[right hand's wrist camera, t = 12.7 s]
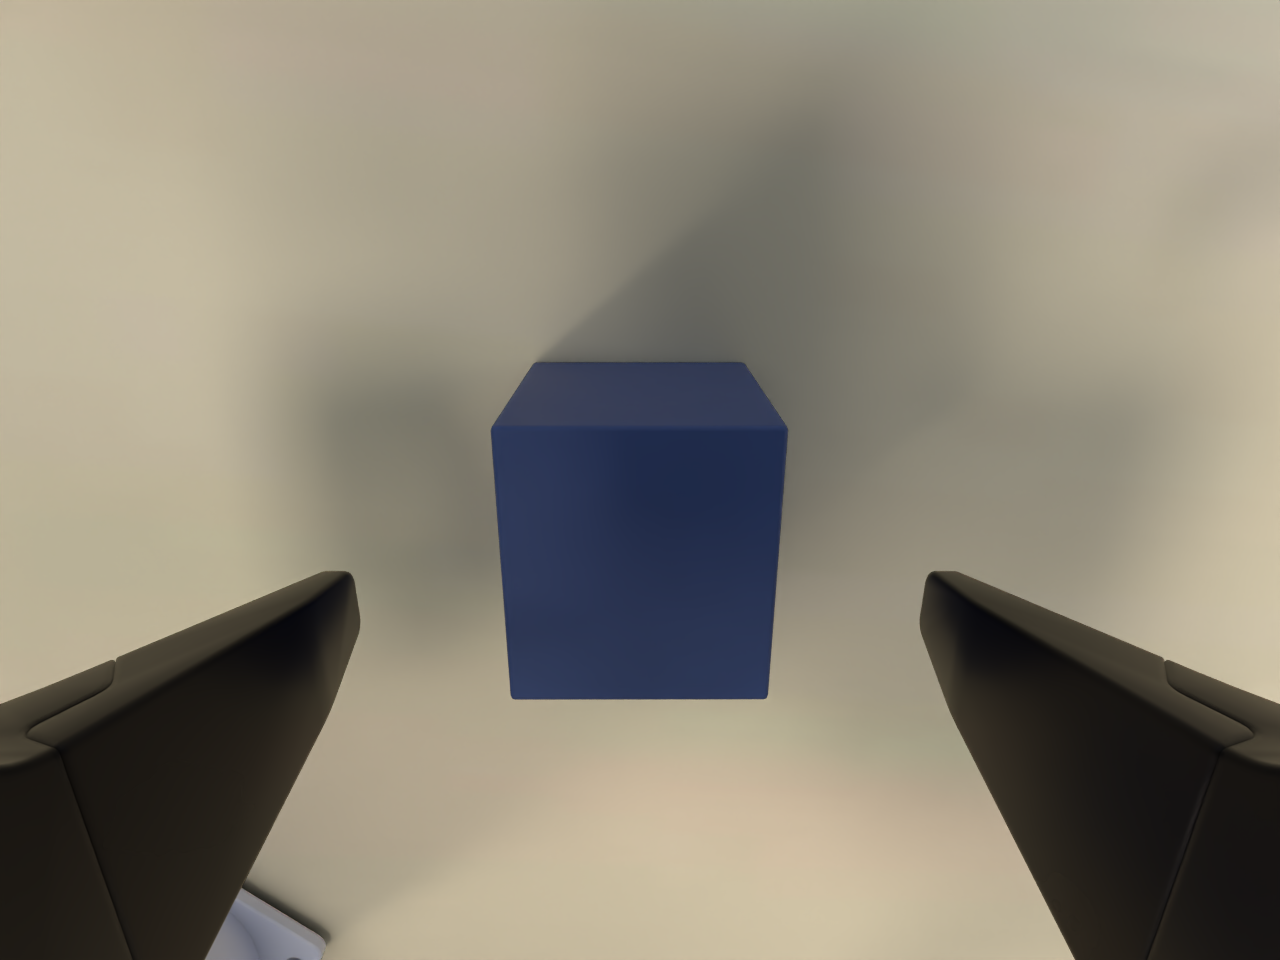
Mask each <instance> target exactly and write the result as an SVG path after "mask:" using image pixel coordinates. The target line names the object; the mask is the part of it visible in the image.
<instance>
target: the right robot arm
mask: <svg viewBox="0 0 1280 960" xmlns="http://www.w3.org/2000/svg"><path fill="white" fill-rule="evenodd" d="M359 630H360V614H359V607H358V601H357V595H356V588H355V582H354V579H353V576H352V575H351V574H350V573H349V572H346V571H324V572H321V573H318V574H316V575H313V576H311V577H309V578H306V579H304V580H302V581H299V582H297V583H294V584H292V585H290V586H287V587H285V588H282V589H280V590H278V591H275V592H273V593H270V594H268V595H266V596H263V597H261V598H259V599H256V600H254V601H251V602H249V603H247V604H244V605H242V606H239V607H237V608H235V609H232V610H230V611H227V612H225V613H223V614H220V615H218V616H215V617H213V618H211V619H208V620H206V621H204V622H201V623H199V624H196V625H194V626H192V627H189V628H187V629H184V630H182V631H180V632H177V633H175V634H172V635H170V636H168V637H165V638H163V639H161V640H158V641H156V642H153V643H151V644H149V645H146V646H144V647H141V648H139V649H137V650H134V651H132V652H129V653H127V654H125V655H122V656H120V657H118V658H117V659H116V662H115V661H114V660H110V661H108V662H105V663H103V664H101V665H98V666H96V667H93V668H91V669H89V670H86V671H84V672H81V673H79V674H76V675H74V676H71V677H69V678H66V679H64V680H61V681H59V682H56V683H54V684H52V685H49V686H47V687H44V688H41V689H39V690H36V691H34V692H31V693H28V694H26V695H23V696H20V697H18V698H15V699H13V700H10V701H7V702H5V703H2V704H0V960H205V959H206V957H207V955H208V953H209V951H210V949H211V947H212V945H213V943H214V941H215V939H216V937H217V935H218V933H219V931H220V929H221V927H222V925H223V923H224V921H225V919H226V917H227V915H228V913H229V911H230V909H231V907H232V905H233V903H234V901H235V899H236V897H237V895H238V893H239V891H240V889H241V887H242V885H243V883H244V882H245V880H246V878H247V876H248V874H249V872H250V870H251V868H252V866H253V864H254V862H255V860H256V858H257V856H258V854H259V852H260V850H261V848H262V846H263V844H264V842H265V840H266V838H267V836H268V834H269V832H270V830H271V828H272V826H273V824H274V822H275V820H276V818H277V816H278V814H279V812H280V810H281V808H282V806H283V804H284V802H285V801H286V799H287V797H288V795H289V793H290V791H291V789H292V787H293V785H294V783H295V781H296V779H297V777H298V775H299V773H300V771H301V769H302V767H303V765H304V763H305V761H306V759H307V757H308V755H309V753H310V751H311V749H312V747H313V745H314V743H315V741H316V739H317V737H318V735H319V733H320V731H321V729H322V727H323V725H324V723H325V721H326V719H327V717H328V715H329V713H330V710H331V708H332V705H333V703H334V700H335V698H336V695H337V692H338V689H339V686H340V684H341V681H342V678H343V675H344V673H345V670H346V667H347V664H348V662H349V659H350V656H351V653H352V651H353V648H354V645H355V642H356V640H357V637H358V634H359ZM920 630H921V634H922V637H923V640H924V642H925V645H926V648H927V651H928V653H929V656H930V659H931V662H932V664H933V667H934V670H935V673H936V675H937V678H938V681H939V684H940V686H941V689H942V692H943V695H944V698H945V700H946V703H947V705H948V708H949V710H950V713H951V715H952V717H953V719H954V721H955V723H956V725H957V727H958V729H959V731H960V733H961V735H962V737H963V739H964V741H965V743H966V745H967V747H968V749H969V751H970V753H971V755H972V757H973V759H974V761H975V763H976V765H977V767H978V769H979V771H980V773H981V775H982V777H983V779H984V781H985V783H986V785H987V787H988V789H989V791H990V793H991V795H992V797H993V799H994V801H995V803H996V804H997V806H998V808H999V810H1000V812H1001V814H1002V816H1003V818H1004V820H1005V822H1006V824H1007V826H1008V828H1009V830H1010V832H1011V834H1012V836H1013V838H1014V840H1015V842H1016V844H1017V846H1018V848H1019V850H1020V852H1021V854H1022V856H1023V858H1024V860H1025V862H1026V864H1027V866H1028V868H1029V870H1030V872H1031V874H1032V876H1033V878H1034V880H1035V882H1036V884H1037V886H1038V887H1039V889H1040V891H1041V893H1042V895H1043V897H1044V899H1045V901H1046V903H1047V905H1048V907H1049V909H1050V911H1051V913H1052V915H1053V917H1054V919H1055V921H1056V923H1057V925H1058V927H1059V929H1060V931H1061V933H1062V935H1063V937H1064V939H1065V941H1066V943H1067V945H1068V947H1069V949H1070V951H1071V953H1072V955H1073V957H1074V959H1075V960H1280V704H1278V703H1275V702H1273V701H1270V700H1267V699H1265V698H1262V697H1260V696H1257V695H1254V694H1252V693H1249V692H1246V691H1244V690H1241V689H1239V688H1236V687H1233V686H1231V685H1228V684H1226V683H1223V682H1221V681H1219V680H1216V679H1214V678H1211V677H1209V676H1206V675H1204V674H1201V673H1199V672H1196V671H1194V670H1191V669H1189V668H1187V667H1184V666H1182V665H1179V664H1177V663H1175V662H1172V661H1170V660H1166V661H1165V662H1164V659H1163V658H1162V657H1160V656H1158V655H1155V654H1153V653H1151V652H1148V651H1146V650H1143V649H1141V648H1139V647H1136V646H1134V645H1131V644H1129V643H1127V642H1124V641H1122V640H1119V639H1117V638H1115V637H1112V636H1110V635H1108V634H1105V633H1103V632H1100V631H1098V630H1096V629H1093V628H1091V627H1088V626H1086V625H1084V624H1081V623H1079V622H1076V621H1074V620H1072V619H1069V618H1067V617H1065V616H1062V615H1060V614H1057V613H1055V612H1053V611H1050V610H1048V609H1045V608H1043V607H1041V606H1038V605H1036V604H1033V603H1031V602H1029V601H1026V600H1024V599H1021V598H1019V597H1017V596H1014V595H1012V594H1010V593H1007V592H1005V591H1002V590H1000V589H998V588H995V587H993V586H990V585H988V584H986V583H983V582H981V581H978V580H976V579H974V578H971V577H969V576H967V575H964V574H962V573H959V572H956V571H934V572H931V573H930V574H929V575H928V576H927V579H926V582H925V588H924V595H923V601H922V607H921V614H920Z"/></svg>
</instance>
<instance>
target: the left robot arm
mask: <svg viewBox="0 0 1280 960" xmlns="http://www.w3.org/2000/svg"><path fill="white" fill-rule="evenodd" d="M325 949H326V943H325V941H324V939H323V938H322V937H321V936H320V935H318V934H317V933H315V932H313V931H312V930H310V929H308V928H307V927H305V926H304V925H302V924H300V923H299V922H297V921H295V920H294V919H292V918H290V917H289V916H287V915H285V914H284V913H282V912H280V911H279V910H277V909H276V908H274V907H272V906H271V905H269V904H267V903H266V902H264V901H262V900H261V899H259V898H257V897H256V896H254V895H253V894H251V893H249V892H248V891H246V890H244V889H243V888H241V889H240V891H239V893H238V895H237V897H236V899H235V901H234V903H233V905H232V907H231V909H230V911H229V913H228V915H227V917H226V919H225V921H224V923H223V925H222V927H221V929H220V931H219V933H218V935H217V937H216V939H215V941H214V943H213V945H212V947H211V949H210V951H209V953H208V955H207V957H206V959H205V960H321V958H322V956H323V954H324V952H325Z"/></svg>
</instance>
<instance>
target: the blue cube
mask: <svg viewBox="0 0 1280 960" xmlns="http://www.w3.org/2000/svg"><path fill="white" fill-rule="evenodd" d="M787 438H788V429H787V426H786V425H785V423H784V422H783V420H782V419H781V417H780V416H779V414H778V413H777V411H776V410H775V408H774V407H773V405H772V404H771V402H770V401H769V399H768V398H767V396H766V395H765V393H764V392H763V390H762V389H761V387H760V386H759V384H758V383H757V382H756V380H755V379H754V377H753V376H752V374H751V373H750V371H749V370H748V368H747V367H746V365H745V364H744V363H534V364H533V365H532V367H531V368H530V370H529V371H528V373H527V374H526V376H525V377H524V379H523V380H522V382H521V383H520V385H519V387H518V388H517V390H516V391H515V393H514V394H513V396H512V397H511V399H510V400H509V402H508V403H507V405H506V406H505V408H504V409H503V411H502V412H501V414H500V415H499V417H498V418H497V420H496V421H495V423H494V424H493V426H492V428H491V440H492V453H493V467H494V480H495V493H496V506H497V519H498V533H499V546H500V559H501V572H502V586H503V599H504V612H505V625H506V638H507V652H508V665H509V678H510V691H511V696H512V699H766V698H767V695H768V687H769V674H770V661H771V647H772V634H773V621H774V608H775V595H776V582H777V569H778V556H779V543H780V529H781V516H782V503H783V490H784V477H785V464H786V451H787Z"/></svg>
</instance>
